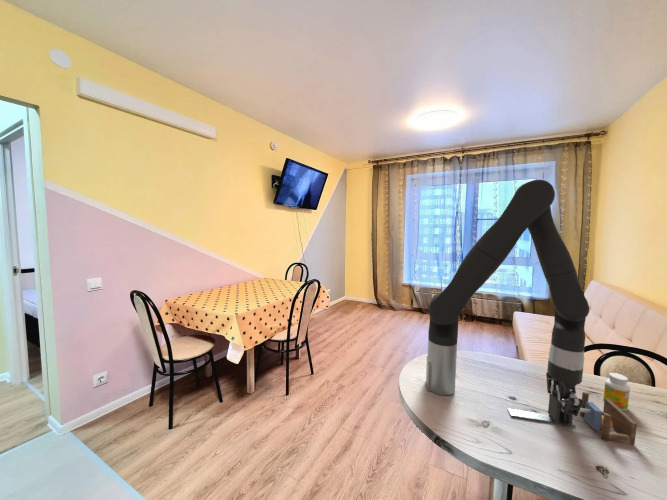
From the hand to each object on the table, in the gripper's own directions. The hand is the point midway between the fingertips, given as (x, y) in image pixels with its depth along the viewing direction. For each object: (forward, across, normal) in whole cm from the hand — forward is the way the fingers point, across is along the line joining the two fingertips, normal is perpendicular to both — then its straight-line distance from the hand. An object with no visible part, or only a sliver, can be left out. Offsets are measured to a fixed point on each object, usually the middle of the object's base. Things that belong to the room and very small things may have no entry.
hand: (559, 417), depth 78 cm
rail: (+1, 0, -5) cm, 5 cm away
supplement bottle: (+1, -12, +21) cm, 24 cm away
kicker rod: (0, 0, +3) cm, 3 cm away
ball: (-1, 0, +10) cm, 11 cm away
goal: (+1, 0, +11) cm, 11 cm away
